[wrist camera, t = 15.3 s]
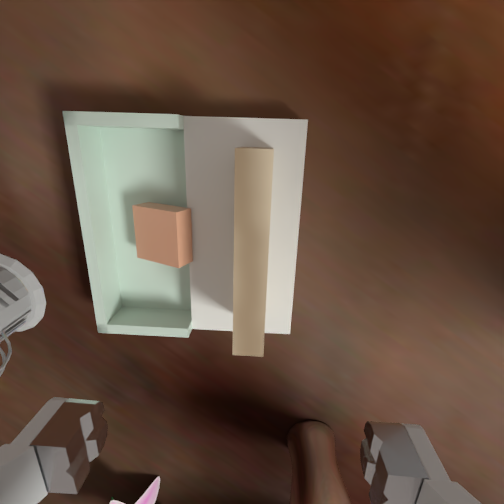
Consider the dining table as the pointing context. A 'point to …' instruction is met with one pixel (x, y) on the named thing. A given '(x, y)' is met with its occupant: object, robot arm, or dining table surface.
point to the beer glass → (315, 465)
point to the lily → (145, 494)
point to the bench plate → (222, 213)
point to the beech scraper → (251, 247)
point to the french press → (18, 301)
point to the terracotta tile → (163, 233)
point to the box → (129, 217)
